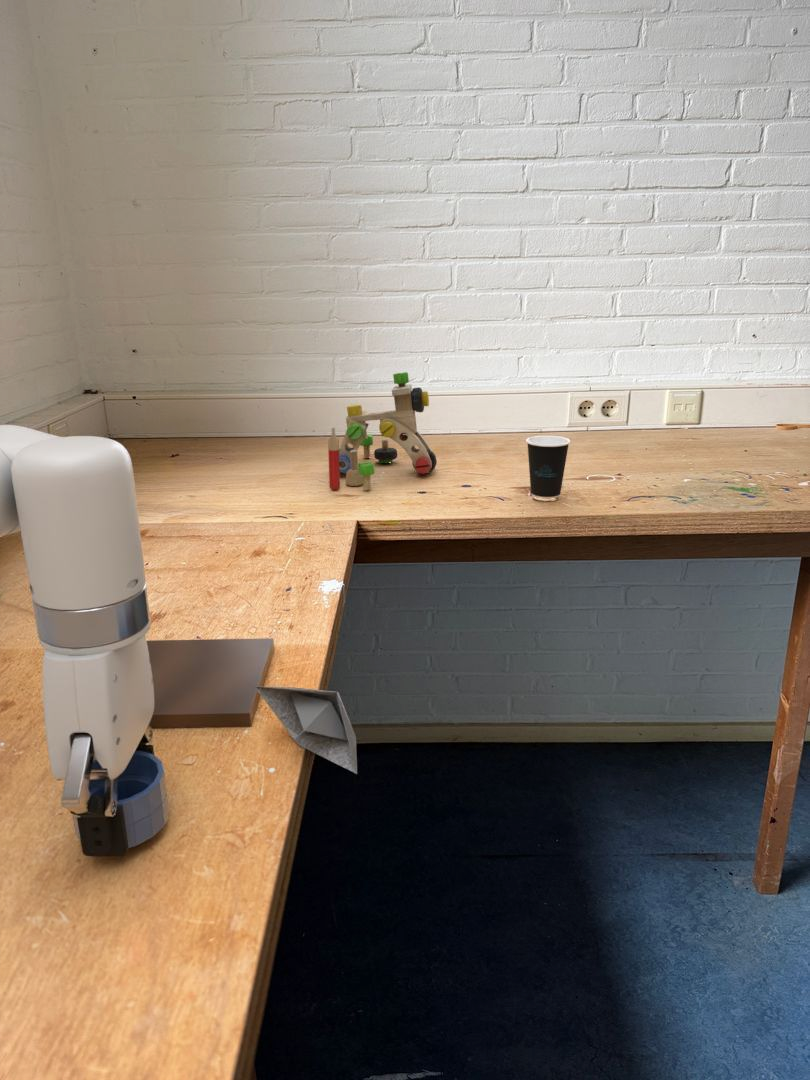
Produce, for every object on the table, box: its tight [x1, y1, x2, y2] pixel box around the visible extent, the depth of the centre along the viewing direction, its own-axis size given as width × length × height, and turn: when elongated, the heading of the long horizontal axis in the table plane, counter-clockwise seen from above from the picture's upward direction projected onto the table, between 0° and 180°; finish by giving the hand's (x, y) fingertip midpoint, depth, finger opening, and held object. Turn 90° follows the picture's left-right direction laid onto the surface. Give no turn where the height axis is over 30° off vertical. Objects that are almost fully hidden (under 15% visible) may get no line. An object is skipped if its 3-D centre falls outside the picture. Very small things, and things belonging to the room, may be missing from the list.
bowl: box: [72, 750, 170, 849], centre depth 62 cm, size 7×7×5 cm
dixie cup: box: [525, 435, 571, 499], centre depth 146 cm, size 8×8×11 cm
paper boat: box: [254, 686, 358, 775], centre depth 72 cm, size 12×6×9 cm
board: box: [146, 637, 275, 729], centre depth 84 cm, size 16×16×2 cm
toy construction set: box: [327, 371, 438, 491], centre depth 161 cm, size 27×22×21 cm
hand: (122, 817), depth 63 cm, fingers closed on bowl, 7 cm apart
